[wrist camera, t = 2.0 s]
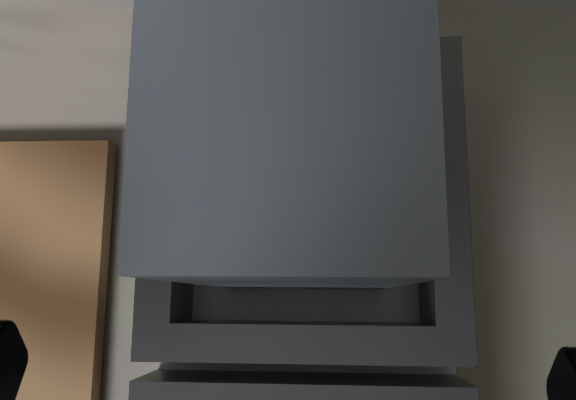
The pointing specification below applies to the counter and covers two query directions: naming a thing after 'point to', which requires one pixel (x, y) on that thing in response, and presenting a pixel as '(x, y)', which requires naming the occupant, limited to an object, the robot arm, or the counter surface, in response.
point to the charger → (285, 144)
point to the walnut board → (57, 260)
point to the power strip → (322, 320)
